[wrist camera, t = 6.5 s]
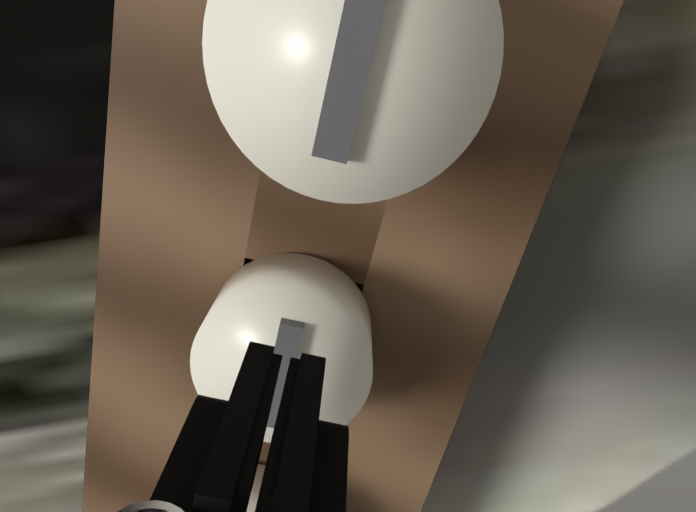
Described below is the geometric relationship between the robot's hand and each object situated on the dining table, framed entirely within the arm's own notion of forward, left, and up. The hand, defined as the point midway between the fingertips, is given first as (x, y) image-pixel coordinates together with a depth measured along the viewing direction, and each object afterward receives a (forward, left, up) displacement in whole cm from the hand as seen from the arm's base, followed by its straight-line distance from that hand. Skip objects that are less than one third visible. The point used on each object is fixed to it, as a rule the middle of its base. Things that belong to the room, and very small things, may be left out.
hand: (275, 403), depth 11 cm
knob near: (-7, 0, -6) cm, 9 cm away
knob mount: (+1, 0, -10) cm, 10 cm away
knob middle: (+1, 0, -9) cm, 9 cm away
